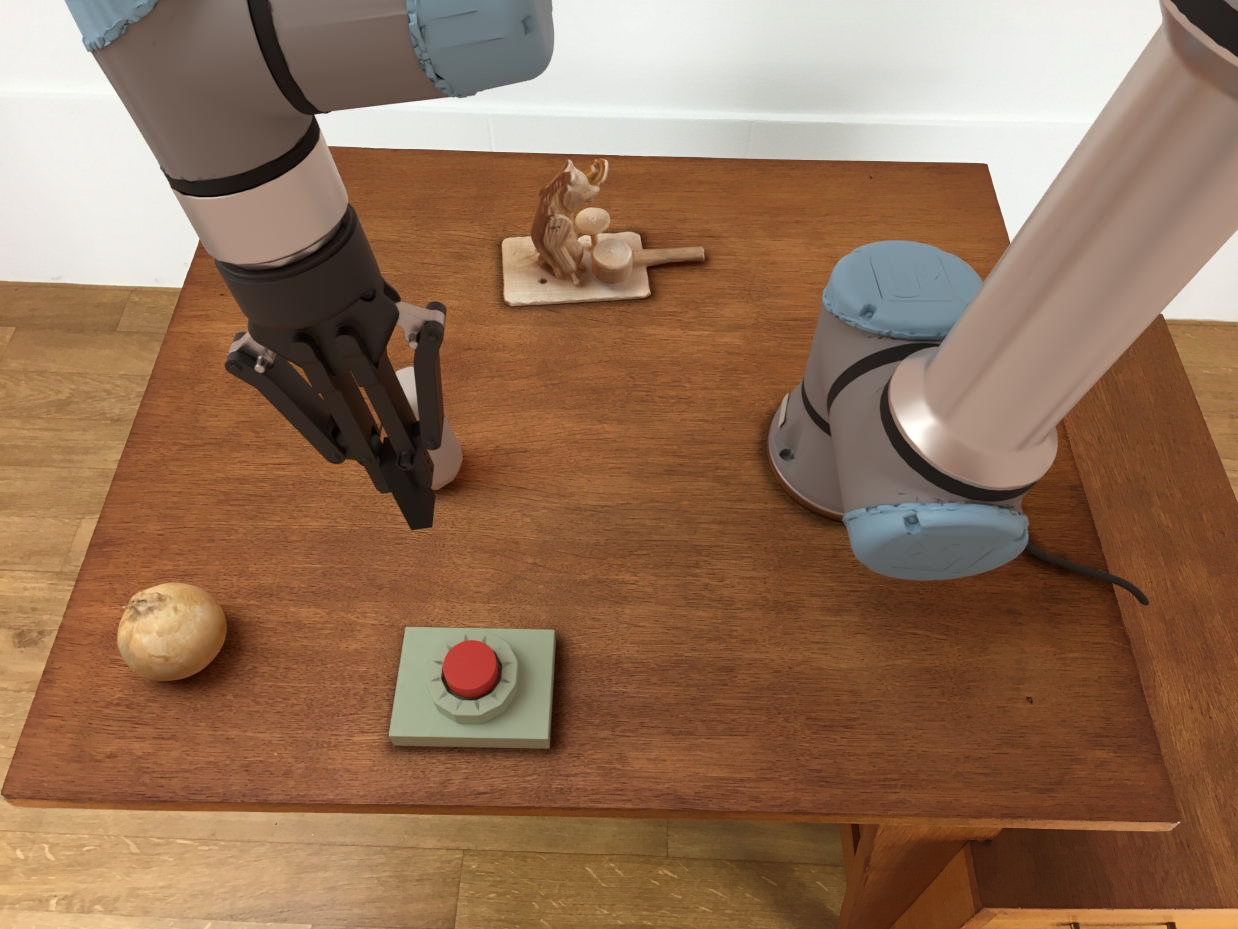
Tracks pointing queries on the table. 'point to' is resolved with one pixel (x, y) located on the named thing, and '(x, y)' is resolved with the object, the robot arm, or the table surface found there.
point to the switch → (470, 669)
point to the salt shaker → (450, 450)
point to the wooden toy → (579, 249)
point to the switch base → (490, 720)
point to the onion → (171, 631)
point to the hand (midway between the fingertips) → (423, 513)
